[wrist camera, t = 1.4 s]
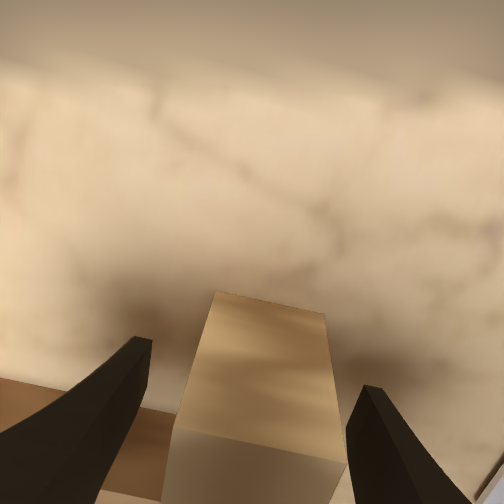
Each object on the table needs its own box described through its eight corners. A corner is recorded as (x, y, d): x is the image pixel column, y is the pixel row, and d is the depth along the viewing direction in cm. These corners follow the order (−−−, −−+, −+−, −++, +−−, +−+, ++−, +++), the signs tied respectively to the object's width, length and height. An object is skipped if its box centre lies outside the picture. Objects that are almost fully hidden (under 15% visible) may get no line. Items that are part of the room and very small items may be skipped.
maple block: (323, 314, 14) (347, 463, 9) (296, 394, 16) (302, 560, 11) (215, 290, 14) (173, 427, 9) (199, 374, 16) (155, 530, 11)
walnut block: (203, 415, 17) (182, 506, 14) (178, 534, 21) (156, 630, 18) (0, 371, 17) (-76, 452, 14) (12, 499, 21) (-45, 589, 17)
